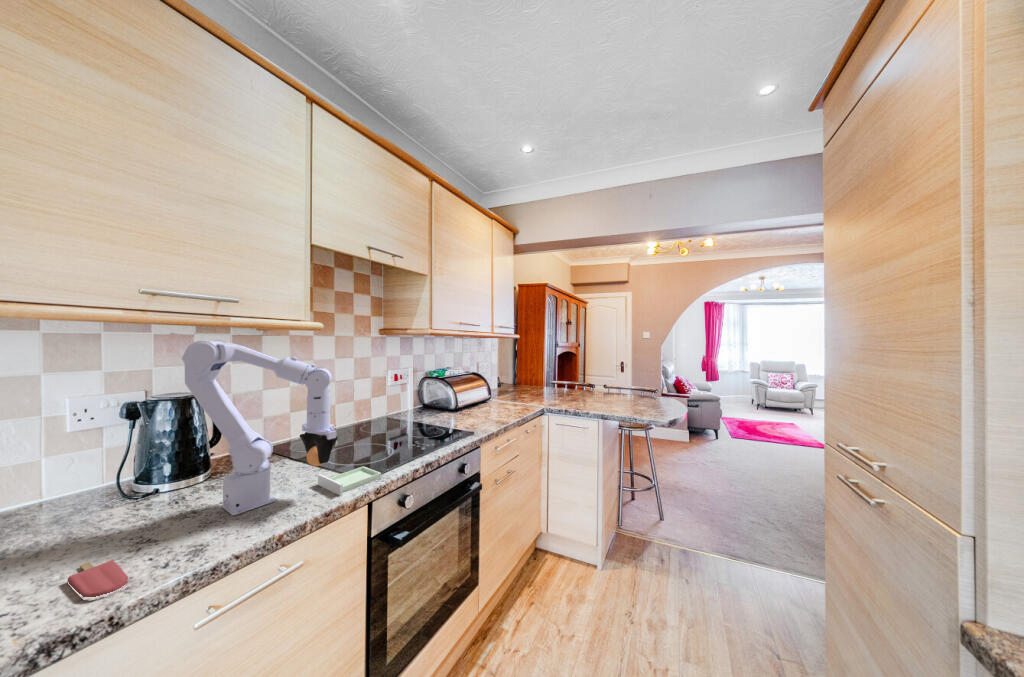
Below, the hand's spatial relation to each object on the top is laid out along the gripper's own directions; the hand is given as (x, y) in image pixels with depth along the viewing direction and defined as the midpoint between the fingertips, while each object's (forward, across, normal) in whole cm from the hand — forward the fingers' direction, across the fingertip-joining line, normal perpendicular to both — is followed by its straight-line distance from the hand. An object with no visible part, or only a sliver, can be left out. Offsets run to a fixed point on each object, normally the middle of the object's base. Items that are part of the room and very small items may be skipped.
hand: (318, 460), depth 94 cm
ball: (-1, 0, 0) cm, 1 cm away
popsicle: (+10, -2, +39) cm, 40 cm away
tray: (+10, 0, -11) cm, 14 cm away
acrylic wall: (+9, 0, -3) cm, 10 cm away
